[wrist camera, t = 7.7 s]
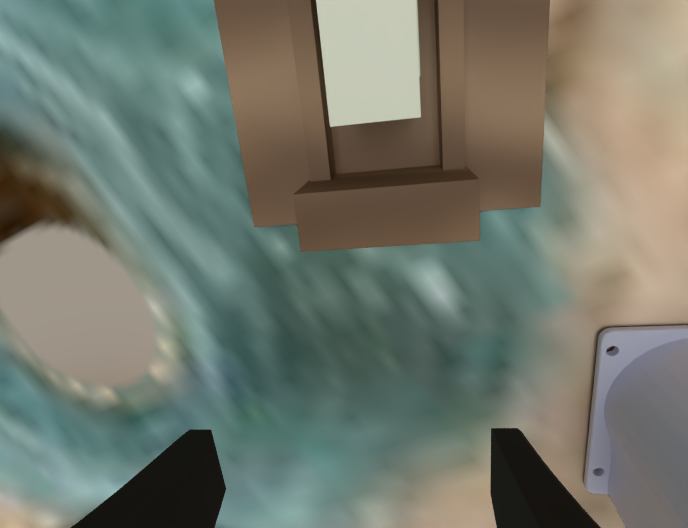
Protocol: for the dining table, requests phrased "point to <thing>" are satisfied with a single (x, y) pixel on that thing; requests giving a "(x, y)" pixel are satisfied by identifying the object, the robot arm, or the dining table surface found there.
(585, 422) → the dining table surface
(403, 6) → the door panel
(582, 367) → the dining table surface
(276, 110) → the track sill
